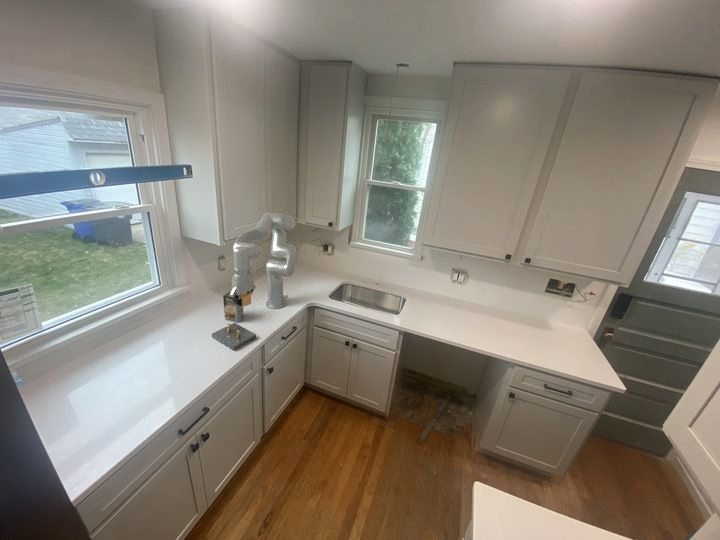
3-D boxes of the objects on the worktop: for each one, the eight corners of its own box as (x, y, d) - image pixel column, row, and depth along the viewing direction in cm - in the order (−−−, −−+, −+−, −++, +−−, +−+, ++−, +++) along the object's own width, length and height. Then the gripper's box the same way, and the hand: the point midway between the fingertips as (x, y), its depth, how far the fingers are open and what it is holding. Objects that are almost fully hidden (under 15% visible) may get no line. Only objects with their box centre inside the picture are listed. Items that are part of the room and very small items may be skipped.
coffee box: (224, 319, 172) (222, 295, 167) (231, 314, 178) (229, 291, 172) (237, 323, 170) (235, 298, 164) (244, 317, 176) (243, 294, 170)
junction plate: (234, 326, 167) (234, 316, 165) (256, 338, 159) (255, 328, 156) (212, 337, 156) (210, 327, 153) (233, 350, 147) (232, 340, 145)
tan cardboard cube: (244, 300, 156) (244, 291, 154) (251, 303, 154) (250, 294, 152) (236, 303, 152) (236, 294, 150) (243, 306, 149) (242, 297, 148)
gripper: (251, 265, 155) (252, 296, 161) (222, 273, 141) (224, 306, 147) (261, 268, 152) (261, 300, 158) (232, 277, 138) (234, 311, 144)
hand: (243, 303), depth 152 cm, fingers closed on tan cardboard cube, 4 cm apart
